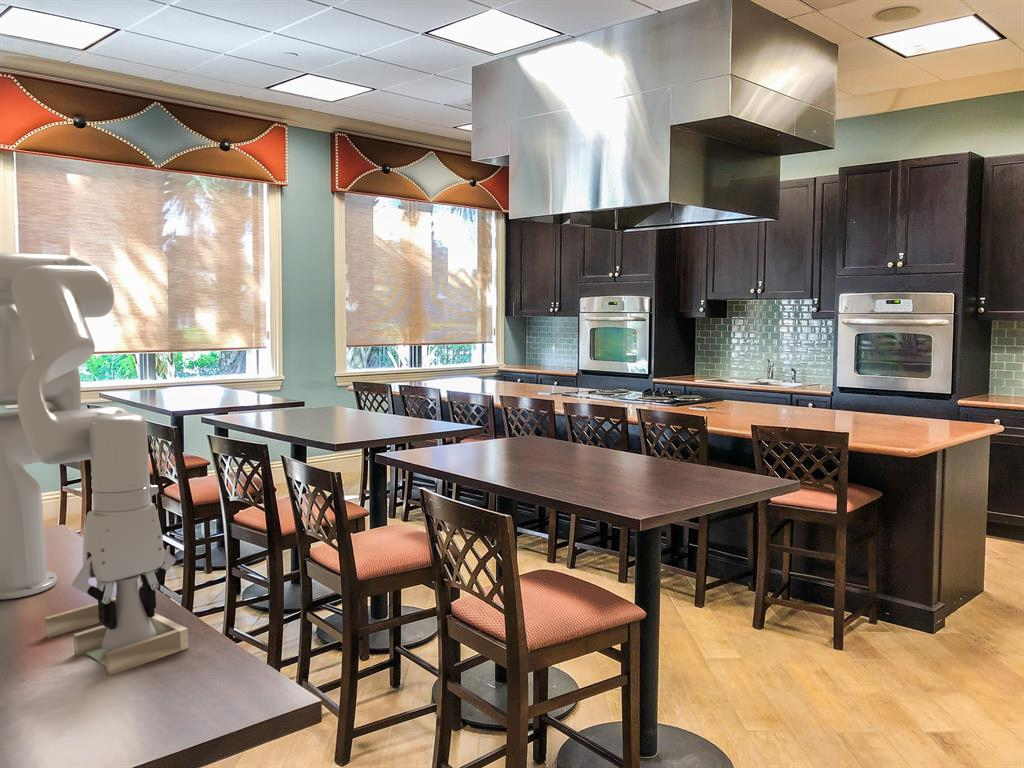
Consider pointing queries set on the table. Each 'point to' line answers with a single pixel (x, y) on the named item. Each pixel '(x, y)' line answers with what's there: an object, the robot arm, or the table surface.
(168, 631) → the comb rack
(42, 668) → the table surface
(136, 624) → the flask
